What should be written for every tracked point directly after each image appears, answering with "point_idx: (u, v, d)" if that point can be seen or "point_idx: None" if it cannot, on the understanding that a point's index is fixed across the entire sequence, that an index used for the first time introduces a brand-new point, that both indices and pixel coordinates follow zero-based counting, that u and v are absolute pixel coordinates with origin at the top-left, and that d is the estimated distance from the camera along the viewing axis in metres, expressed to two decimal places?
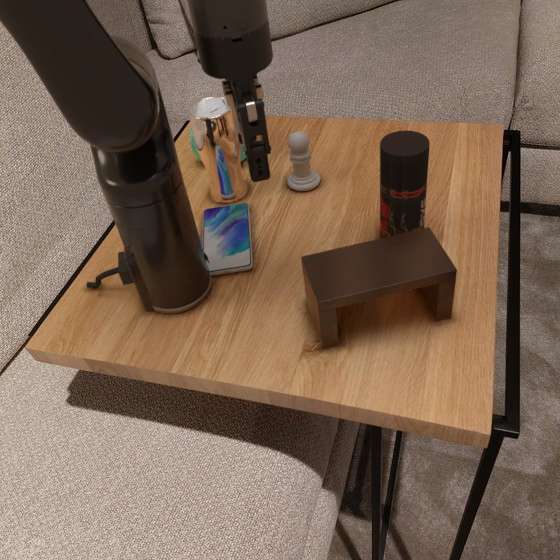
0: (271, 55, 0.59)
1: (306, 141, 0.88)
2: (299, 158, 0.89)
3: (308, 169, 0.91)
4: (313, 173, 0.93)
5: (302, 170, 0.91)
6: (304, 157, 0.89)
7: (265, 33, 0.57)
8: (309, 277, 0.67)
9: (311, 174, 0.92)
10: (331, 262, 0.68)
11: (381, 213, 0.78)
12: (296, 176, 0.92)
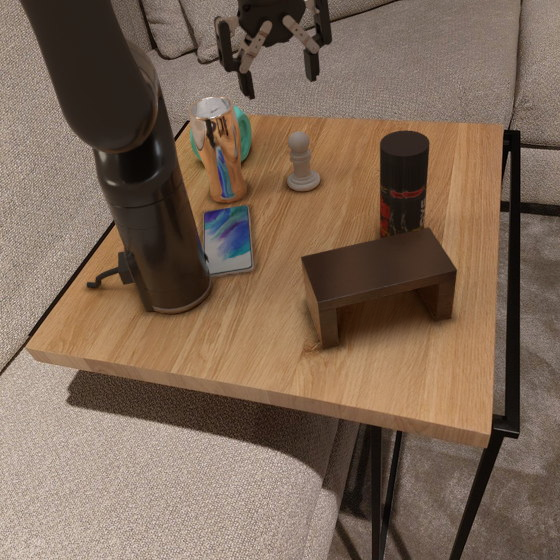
0: None
1: (306, 141, 0.88)
2: (299, 158, 0.89)
3: (308, 169, 0.91)
4: (313, 173, 0.93)
5: (302, 170, 0.91)
6: (304, 157, 0.89)
7: None
8: (309, 277, 0.67)
9: (311, 174, 0.92)
10: (331, 262, 0.68)
11: (381, 213, 0.78)
12: (296, 176, 0.92)
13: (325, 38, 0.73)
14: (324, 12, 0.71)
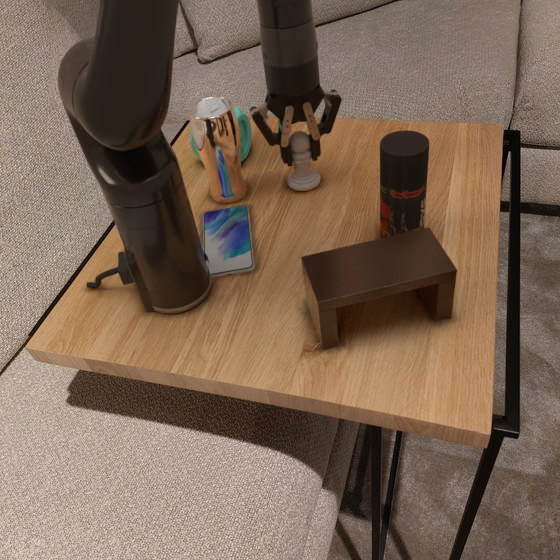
0: (286, 91, 0.79)
1: (307, 141, 0.88)
2: (300, 158, 0.89)
3: (308, 169, 0.91)
4: (313, 173, 0.93)
5: (302, 170, 0.91)
6: (305, 157, 0.89)
7: (279, 73, 0.78)
8: (309, 277, 0.67)
9: (311, 174, 0.92)
10: (331, 262, 0.68)
11: (381, 213, 0.78)
12: (296, 176, 0.92)
13: (326, 128, 0.87)
14: (334, 109, 0.85)
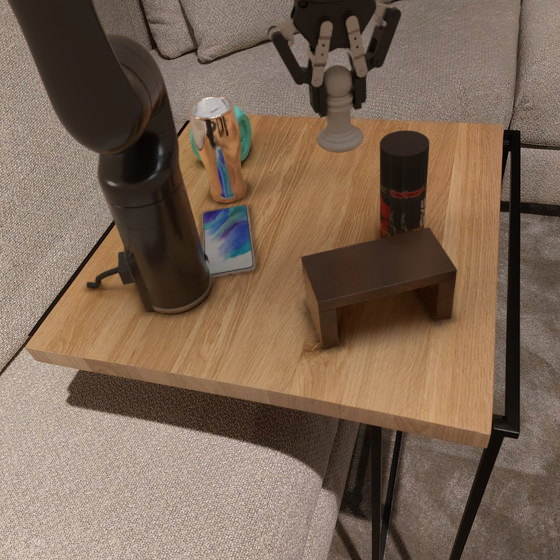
0: None
1: (349, 79, 0.62)
2: (337, 104, 0.63)
3: (348, 121, 0.65)
4: (354, 128, 0.67)
5: (340, 122, 0.65)
6: (344, 102, 0.63)
7: None
8: (309, 277, 0.67)
9: (352, 129, 0.66)
10: (331, 262, 0.68)
11: (381, 213, 0.78)
12: (331, 131, 0.66)
13: (377, 59, 0.61)
14: (390, 29, 0.59)
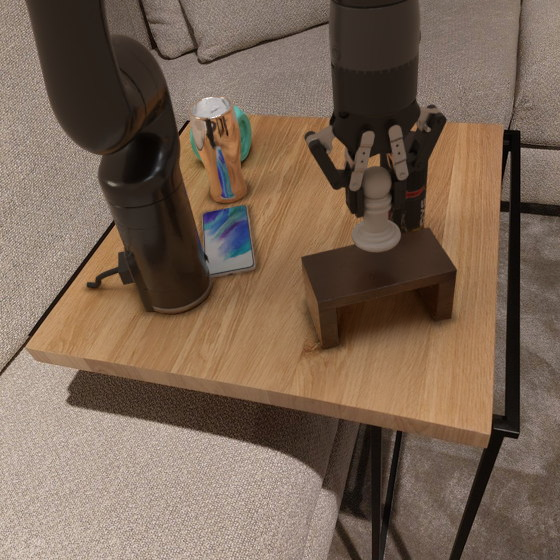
0: (368, 109, 0.50)
1: (388, 182, 0.58)
2: (376, 206, 0.60)
3: (386, 221, 0.62)
4: (391, 225, 0.63)
5: (377, 223, 0.61)
6: (383, 205, 0.60)
7: (360, 81, 0.48)
8: (309, 277, 0.67)
9: (389, 227, 0.63)
10: (331, 262, 0.68)
11: None
12: (367, 230, 0.63)
13: (419, 162, 0.57)
14: (434, 134, 0.56)
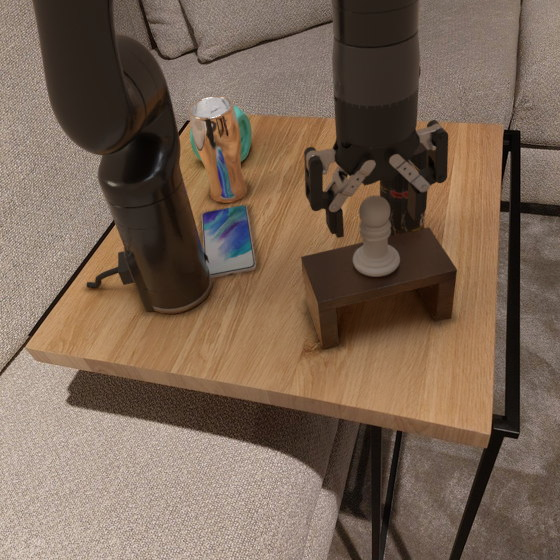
0: (370, 141, 0.52)
1: (387, 211, 0.61)
2: (375, 234, 0.62)
3: (385, 247, 0.64)
4: (390, 251, 0.66)
5: (377, 249, 0.64)
6: (382, 232, 0.62)
7: (362, 115, 0.51)
8: (309, 277, 0.67)
9: (388, 253, 0.65)
10: (331, 262, 0.68)
11: None
12: (367, 256, 0.65)
13: (438, 176, 0.59)
14: (442, 149, 0.57)
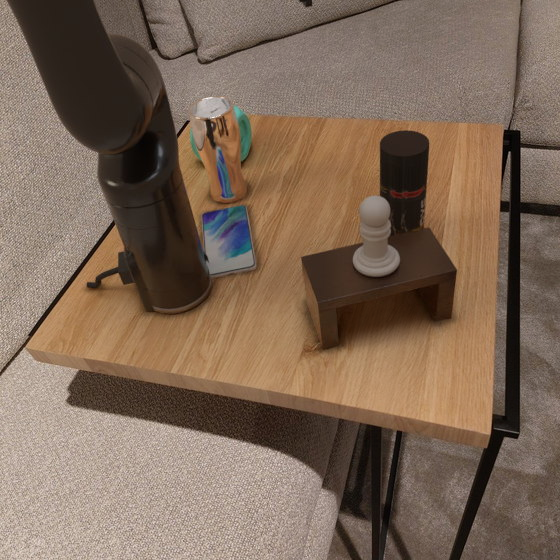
0: None
1: (387, 211, 0.61)
2: (375, 234, 0.62)
3: (385, 247, 0.64)
4: (390, 251, 0.66)
5: (377, 249, 0.64)
6: (382, 232, 0.62)
7: None
8: (309, 277, 0.67)
9: (388, 253, 0.65)
10: (331, 262, 0.68)
11: None
12: (367, 256, 0.65)
13: None
14: None
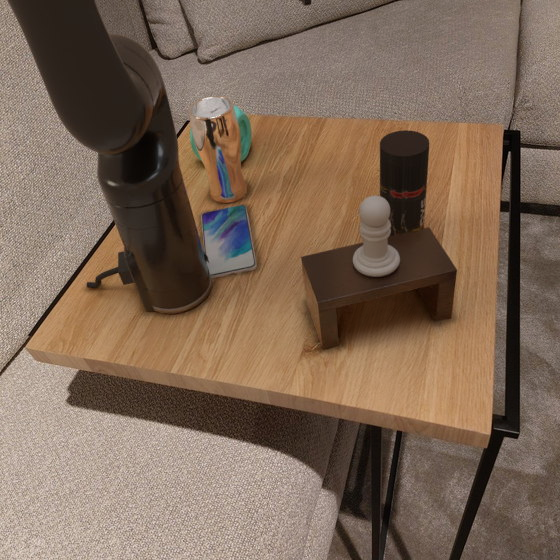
0: None
1: (387, 211, 0.61)
2: (375, 234, 0.62)
3: (385, 247, 0.64)
4: (390, 251, 0.66)
5: (377, 249, 0.64)
6: (382, 232, 0.62)
7: None
8: (309, 277, 0.67)
9: (388, 253, 0.65)
10: (331, 262, 0.68)
11: None
12: (367, 256, 0.65)
13: None
14: None
